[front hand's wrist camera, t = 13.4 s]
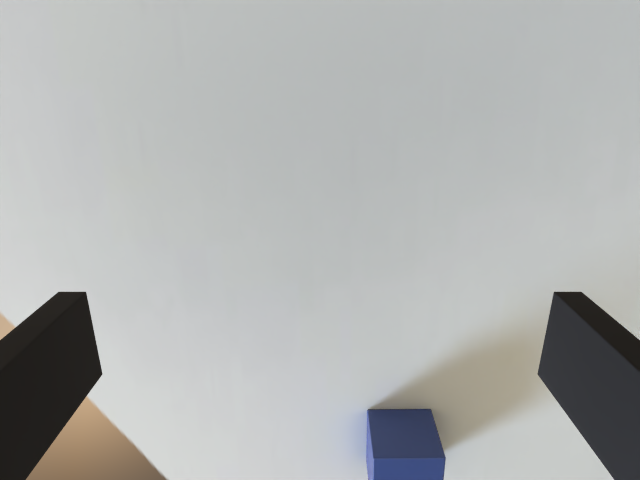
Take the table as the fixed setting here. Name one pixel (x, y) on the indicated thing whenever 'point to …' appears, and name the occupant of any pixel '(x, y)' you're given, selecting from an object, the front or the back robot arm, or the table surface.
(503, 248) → the table surface
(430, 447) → the block
